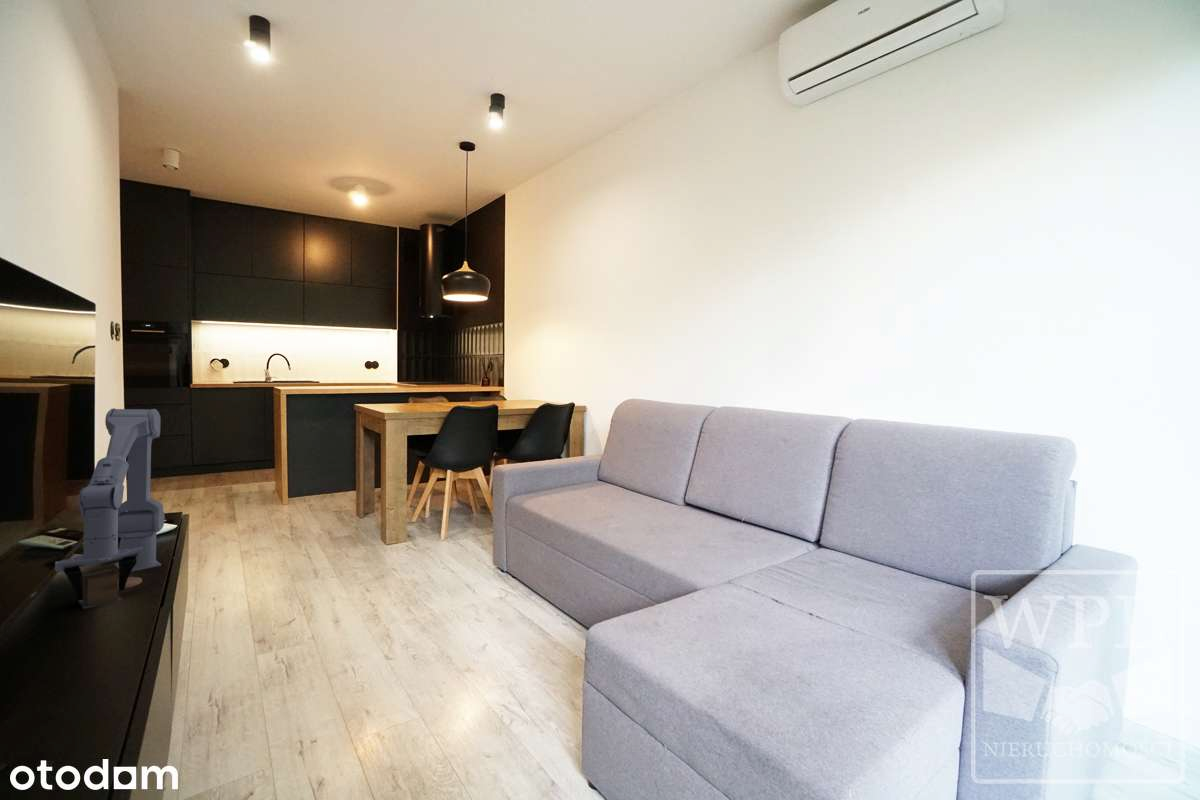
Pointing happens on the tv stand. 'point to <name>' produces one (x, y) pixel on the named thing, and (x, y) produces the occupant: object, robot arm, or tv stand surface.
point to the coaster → (131, 582)
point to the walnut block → (100, 587)
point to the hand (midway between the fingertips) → (100, 594)
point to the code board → (97, 604)
